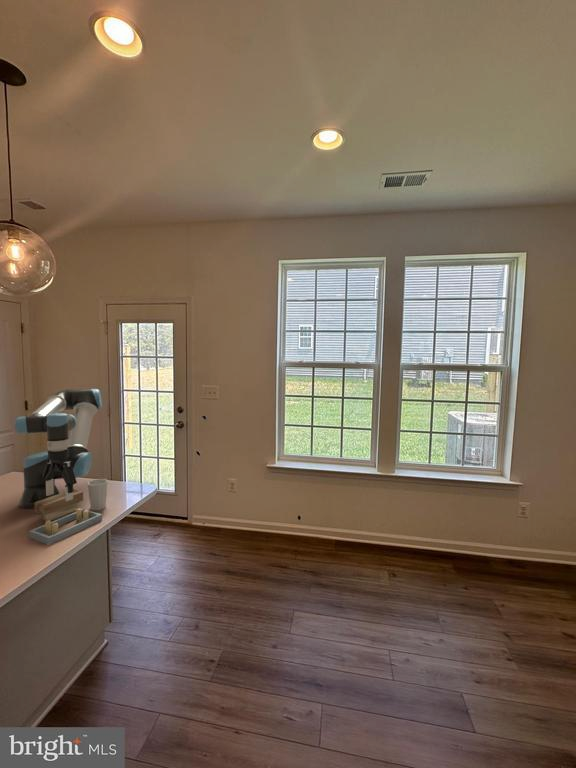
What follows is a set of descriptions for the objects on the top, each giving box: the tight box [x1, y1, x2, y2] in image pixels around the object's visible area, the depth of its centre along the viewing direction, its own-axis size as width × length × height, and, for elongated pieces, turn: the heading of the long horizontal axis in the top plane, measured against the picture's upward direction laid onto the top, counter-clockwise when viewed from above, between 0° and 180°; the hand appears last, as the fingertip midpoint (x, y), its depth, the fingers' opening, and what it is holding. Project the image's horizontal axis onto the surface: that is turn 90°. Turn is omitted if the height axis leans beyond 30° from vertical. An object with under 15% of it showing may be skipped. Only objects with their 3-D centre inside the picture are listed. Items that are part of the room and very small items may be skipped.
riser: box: [41, 502, 78, 522], centre depth 142 cm, size 4×12×4 cm, turn 156°
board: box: [34, 488, 84, 515], centre depth 142 cm, size 7×16×4 cm, turn 156°
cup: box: [87, 478, 108, 511], centre depth 149 cm, size 8×8×12 cm
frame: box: [28, 507, 103, 546], centre depth 130 cm, size 12×21×5 cm, turn 156°
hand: (59, 497), depth 141 cm, fingers open, 13 cm apart
